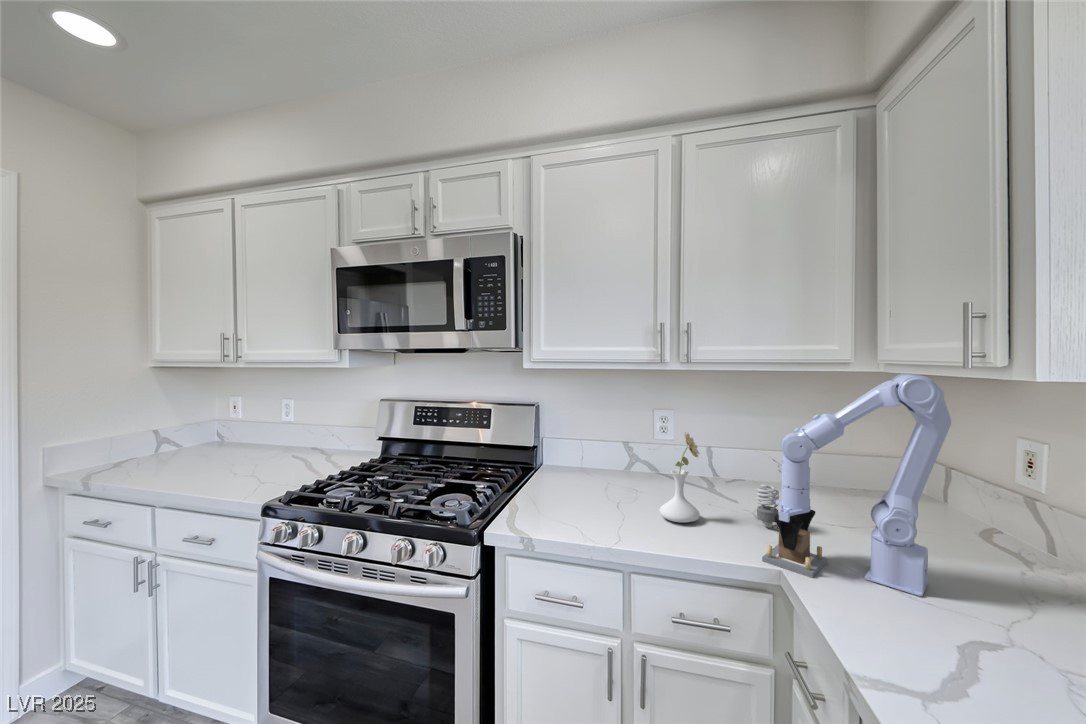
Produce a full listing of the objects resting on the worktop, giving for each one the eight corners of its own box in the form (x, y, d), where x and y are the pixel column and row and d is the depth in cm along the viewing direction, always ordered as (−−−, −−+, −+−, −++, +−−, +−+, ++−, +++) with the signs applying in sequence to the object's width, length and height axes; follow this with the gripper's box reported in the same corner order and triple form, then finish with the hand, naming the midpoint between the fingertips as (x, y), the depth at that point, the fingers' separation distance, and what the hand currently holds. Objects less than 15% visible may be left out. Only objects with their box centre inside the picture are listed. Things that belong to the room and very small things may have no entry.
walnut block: (809, 557, 103) (810, 531, 103) (802, 564, 100) (802, 537, 100) (786, 550, 107) (786, 525, 107) (778, 556, 104) (778, 530, 103)
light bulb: (751, 525, 125) (751, 482, 124) (766, 522, 127) (767, 480, 126) (768, 533, 119) (768, 488, 119) (783, 530, 121) (784, 486, 121)
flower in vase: (685, 529, 122) (686, 438, 121) (651, 517, 131) (651, 432, 130) (710, 518, 130) (711, 433, 129) (676, 507, 139) (677, 427, 138)
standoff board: (826, 562, 103) (827, 547, 103) (812, 577, 96) (812, 561, 96) (778, 547, 111) (779, 533, 111) (762, 561, 104) (762, 546, 104)
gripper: (788, 476, 111) (787, 530, 111) (764, 488, 101) (764, 547, 101) (820, 482, 106) (819, 539, 106) (799, 496, 96) (798, 558, 96)
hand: (794, 544), depth 103 cm, fingers open, 6 cm apart
